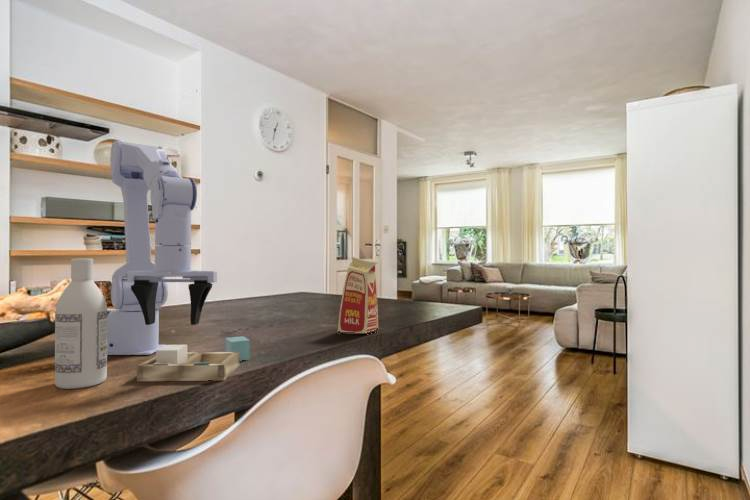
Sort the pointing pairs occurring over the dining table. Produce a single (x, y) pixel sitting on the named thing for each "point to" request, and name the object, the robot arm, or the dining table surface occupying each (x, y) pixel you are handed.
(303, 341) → the dining table surface
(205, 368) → the slot rack
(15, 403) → the dining table surface
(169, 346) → the off-white plug
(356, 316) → the milk carton
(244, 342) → the teal rectangular block
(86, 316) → the bath foam
